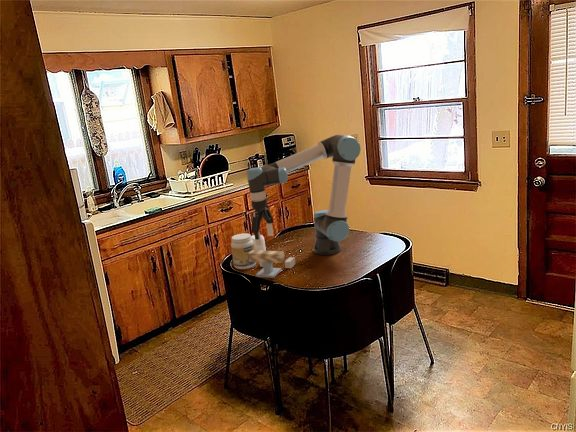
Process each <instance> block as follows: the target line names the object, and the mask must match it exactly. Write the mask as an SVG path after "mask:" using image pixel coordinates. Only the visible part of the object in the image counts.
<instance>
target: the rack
mask: <svg viewBox="0 0 576 432" xmlns="http://www.w3.org/2000/svg"><path fill="white" fill-rule="evenodd" d="M258 263H259V267H260V268H263V263H262V262H258ZM295 265H296V257H294V256H293V257H292V256H290V257H288V258H287V259H285V260H284V266H285V269H292V268H293V267H294V266H295Z"/></svg>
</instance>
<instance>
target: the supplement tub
mask: <svg viewBox="0 0 576 432" xmlns="http://www.w3.org/2000/svg"><path fill="white" fill-rule="evenodd" d="M251 236H252V235H251V234H250V233H238V234H234V235H232V236H231V242H230V247H231V248H230V249H231V253H232V260H233V266H234V268H235V269H238V270H247V269H252V268H253V267H255V266H256V265H257V262H249V255H248V253H249V252H251V251H252V250H254V242H253V240H252V239H251Z"/></svg>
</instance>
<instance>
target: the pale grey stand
mask: <svg viewBox="0 0 576 432" xmlns="http://www.w3.org/2000/svg"><path fill="white" fill-rule="evenodd" d="M262 263H263V267H262V268H261V270H259V271H258V272H257V273H256V274H255V278H256V277H257V278H271V279H274V278H275V277H276V276H277V275H278V274H279V273H280V272H281V271H282V268H281V267H274V265H273V264H274V263H269V262H262Z"/></svg>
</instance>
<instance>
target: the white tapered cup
mask: <svg viewBox="0 0 576 432" xmlns="http://www.w3.org/2000/svg"><path fill="white" fill-rule="evenodd" d="M260 236H261V243H262V245H256V241H255V234H253V235H251V239H252V240H253V242H254V250H261V251H267V248H266V242H265V236H264V235H263V234H260Z"/></svg>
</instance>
